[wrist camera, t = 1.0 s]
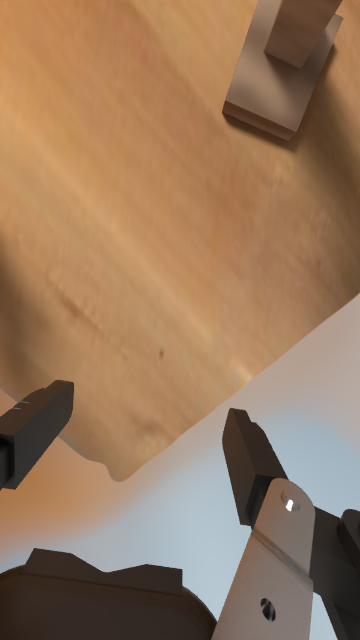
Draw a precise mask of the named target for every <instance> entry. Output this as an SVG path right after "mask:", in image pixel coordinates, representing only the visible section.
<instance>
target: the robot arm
mask: <svg viewBox="0 0 360 640" xmlns="http://www.w3.org/2000/svg"><path fill="white" fill-rule="evenodd" d="M73 396H74V383H73V382H69V381H63V380H56V381H54V382H53V383H52V384H51V385H49V386H48V387H47V388H46V389H45V388H42V389H39V390H37V391H35V392H33V393H30V394H29V395H28V396H27V397H25V398H24V399H23V400H21V402H19V403H18V404H16V405H15V406H14V407H13V409H10V410H9V411H8V412H6V413H5V414H4V415H2V416H1V417H0V490H1V489H2V488H7V489H14V490H15V489H16V488H17V487H18V485H19V484H20V483H21V481H22V480H23V479H24V477H25V476H26V475H27V474H28V472H29V471H30V470H31V469H32V467H33V466H34V465H35V464H36V462H37V461H38V460H39V458H40V457H41V456H42V455H43V453H44V452H45V451H46V449H47V448H48V447H49V445H50V444H51V443H52V442H53V440H54V439H55V438H56V437H57V435H58V434H59V433H60V431H61V430H62V429H63V428H64V426H65V425H66V424H67V422H68V421H69V419H70V417H71V414H72V410H73ZM222 444H223V450H224V454H225V459H226V463H227V468H228V472H229V477H230V481H231V485H232V490H233V494H234V498H235V503H236V507H237V512H238V516H239V521H240V524H241V525H247V526H251V529H252V532H251V535H250V537H249V540H248V543H247V545H246V548H245V551H244V553H243V556H242V559H241V561H240V564H239V566H238V569H237V572H236V574H235V577H234V580H233V583H232V585H231V588H230V591H229V593H228V596H227V598H226V601H225V604H224V607H223V609H222V612H221V615H220V617H219V620H218V622H217V621H216V619H215V617H214V616H213V614H212V613H211V612H210V610H209V609H208V608H207V606H206V605H205V604H204V603H203V602H202V601H201V600H200V599H199V598H198V597H197V596H196V595H195V594H194V593H192V592H191V591H190V590H189V589H187V588H185V587H184V586H182V569H177V568H169V567H163V566H155V565H149V564H145V565H141V566H136V567H131V568H127V569H122V570H117V571H113V572H102V571H100V570H99V569H97V568H95V567H94V566H92V565H90V564H88V563H87V562H85V561H83V560H82V559H80V558H78V557H76V556H75V555H73V554H71V553H65V552H58V551H51V550H44V549H37V548H34V549H33V551H32V553H31V555H30V557H29V559H28V560H27V562H26V564H25V565H22V566H18V567H15V568H12V569H9V570H7V571H5V572H3V573H1V574H0V640H309V633H310V622H311V611H312V599H313V592H315V593H317V594H318V595H320V596H321V598H322V601H323V603H324V606H325V608H326V611H327V613H328V616H329V618H330V621H331V623H332V626H333V629H334V631H335V634H336V637H337V639H338V640H360V511H357V510H353V509H347V510H345V511H344V512H343V515H342V517H341V518H339V517H336V516H334V515H332V514H330V513H328V512H326V511H323V510H321V509H319V508H317V507H315V506H313V503H312V501H311V500H310V498H309V497H308V496H307V494H306V493H305V492H304V491H303V490H302V489H301V488H300V487H299V486H297V485H296V484H294V483H293V482H291V481H289V479H288V478H287V475H286V474H285V472H284V470H283V468H282V466H281V464H280V462H279V460H278V458H277V456H276V454H275V452H274V451H273V448H272V446H271V444H270V443H269V440H268V438H267V436H266V434H265V433H264V431H263V430H262V429H261V428H260V427H259V426H258V425H257V424H256V423H254V422H251V420H250V418H249V416H248V414H247V412H246V411H245V410H240V409H234V408H230V409H229V412H228V416H227V420H226V424H225V428H224V431H223V439H222Z"/></svg>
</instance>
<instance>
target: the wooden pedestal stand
mask: <svg viewBox="0 0 360 640" xmlns="http://www.w3.org/2000/svg"><path fill="white" fill-rule="evenodd" d="M341 2H342V0H258V3H257V6H256V9H255V12H254V15H253V18H252V21H251V24H250V27H249V30H248V33H247V36H246V39H245V42H244V45H243V48H242V51H241V54H240V57H239V60H238V63H237V66H236V69H235V72H234V75H233V78H232V81H231V84H230V87H229V90H228V93H227V96H226V99H225V103H224V106H223V110H222V112H223V113H225V114H227V115H229V116H232V117H234V118H236V119H238V120H241V121H243V122H245V123H247V124H250V125H252V126H254V127H256V128H259V129H261V130H263V131H265V132H268V133H270V134H272V135H275V136H277V137H279V138H281V139H284V140H286V141H288V142H289V140H290V139H291V138H292V137H293V136H294V135H295V133H296V132H297V130H298V127H299V125H300V123H301V120H302V118H303V115H304V113H305V110H306V108H307V105H308V103H309V101H310V98H311V96H312V93H313V91H314V88H315V86H316V84H317V81H318V79H319V76H320V74H321V71H322V69H323V66H324V64H325V62H326V59H327V57H328V54H329V52H330V49H331V47H332V44H333V42H334V40H335V37H336V35H337V32H338V30H339V27H340V25H341V22H342V20H343V17H341V16H339V15H337V14H335V12H336V10H337V8H338V7H339V5H340V3H341Z"/></svg>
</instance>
